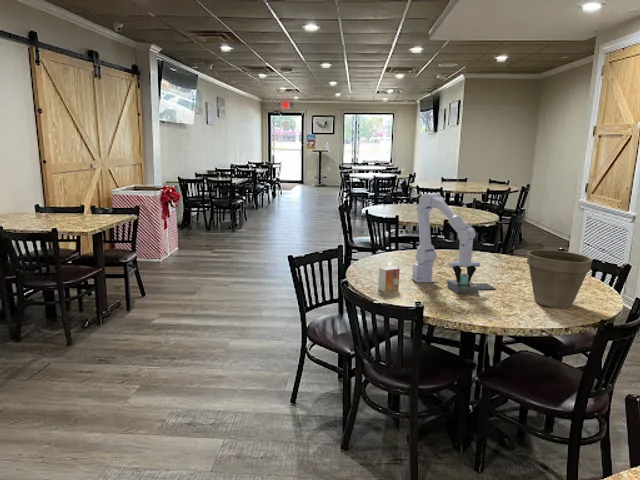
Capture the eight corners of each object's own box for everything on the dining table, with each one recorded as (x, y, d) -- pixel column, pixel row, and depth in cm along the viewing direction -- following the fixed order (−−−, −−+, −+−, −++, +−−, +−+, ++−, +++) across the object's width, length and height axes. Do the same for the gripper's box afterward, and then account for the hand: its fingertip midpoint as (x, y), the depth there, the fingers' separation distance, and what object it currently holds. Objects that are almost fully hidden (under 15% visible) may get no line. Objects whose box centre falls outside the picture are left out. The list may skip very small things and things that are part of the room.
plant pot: (576, 297, 219) (582, 251, 215) (593, 315, 195) (600, 263, 191) (518, 292, 224) (522, 247, 220) (528, 309, 201) (533, 259, 196)
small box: (384, 292, 221) (385, 270, 219) (377, 289, 226) (378, 267, 224) (398, 290, 224) (400, 268, 222) (391, 287, 229) (392, 265, 227)
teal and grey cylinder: (460, 291, 224) (461, 275, 222) (455, 289, 228) (457, 273, 227) (469, 291, 224) (470, 275, 223) (464, 288, 229) (466, 272, 227)
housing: (457, 294, 220) (458, 287, 219) (447, 286, 231) (447, 279, 231) (478, 293, 221) (479, 286, 221) (466, 286, 233) (467, 279, 232)
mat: (477, 290, 227) (478, 289, 227) (469, 284, 236) (469, 283, 236) (495, 289, 228) (495, 288, 228) (486, 284, 237) (486, 283, 237)
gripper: (454, 255, 218) (452, 284, 221) (484, 255, 220) (481, 283, 223) (447, 252, 225) (445, 280, 227) (477, 251, 227) (474, 279, 230)
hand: (463, 281), depth 225 cm, fingers closed on teal and grey cylinder, 4 cm apart
